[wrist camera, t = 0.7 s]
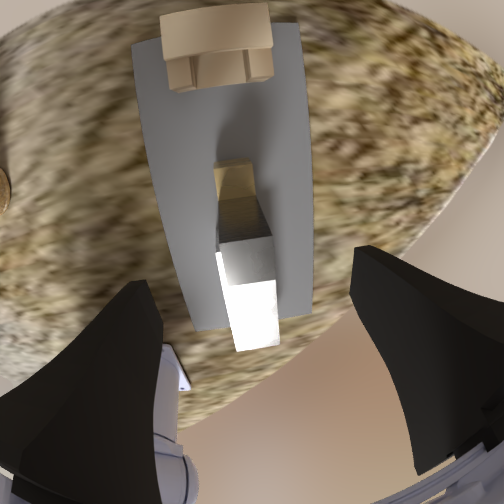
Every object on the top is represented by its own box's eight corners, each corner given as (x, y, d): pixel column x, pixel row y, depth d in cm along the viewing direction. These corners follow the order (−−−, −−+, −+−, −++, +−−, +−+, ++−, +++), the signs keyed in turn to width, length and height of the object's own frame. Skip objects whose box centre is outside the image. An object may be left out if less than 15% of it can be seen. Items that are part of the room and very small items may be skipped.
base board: (195, 323, 23) (195, 331, 22) (135, 47, 12) (130, 44, 11) (308, 305, 24) (311, 313, 23) (294, 27, 13) (298, 23, 12)
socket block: (178, 93, 13) (167, 88, 10) (171, 34, 11) (159, 15, 8) (264, 81, 14) (277, 73, 10) (256, 23, 12) (267, 2, 8)
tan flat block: (241, 321, 21) (251, 395, 15) (213, 161, 15) (211, 199, 9) (265, 318, 22) (282, 389, 16) (248, 157, 15) (268, 190, 9)
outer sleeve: (234, 322, 22) (237, 351, 19) (215, 228, 18) (215, 252, 15) (272, 316, 22) (279, 344, 20) (264, 221, 18) (272, 244, 15)
